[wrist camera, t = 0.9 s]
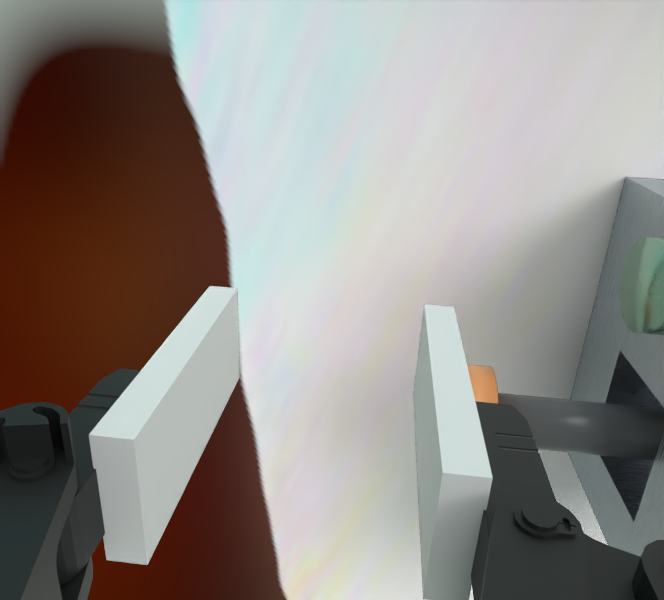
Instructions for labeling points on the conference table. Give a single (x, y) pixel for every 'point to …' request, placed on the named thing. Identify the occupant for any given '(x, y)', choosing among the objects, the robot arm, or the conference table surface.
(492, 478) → the robot arm
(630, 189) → the box
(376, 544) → the conference table surface
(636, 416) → the disc
